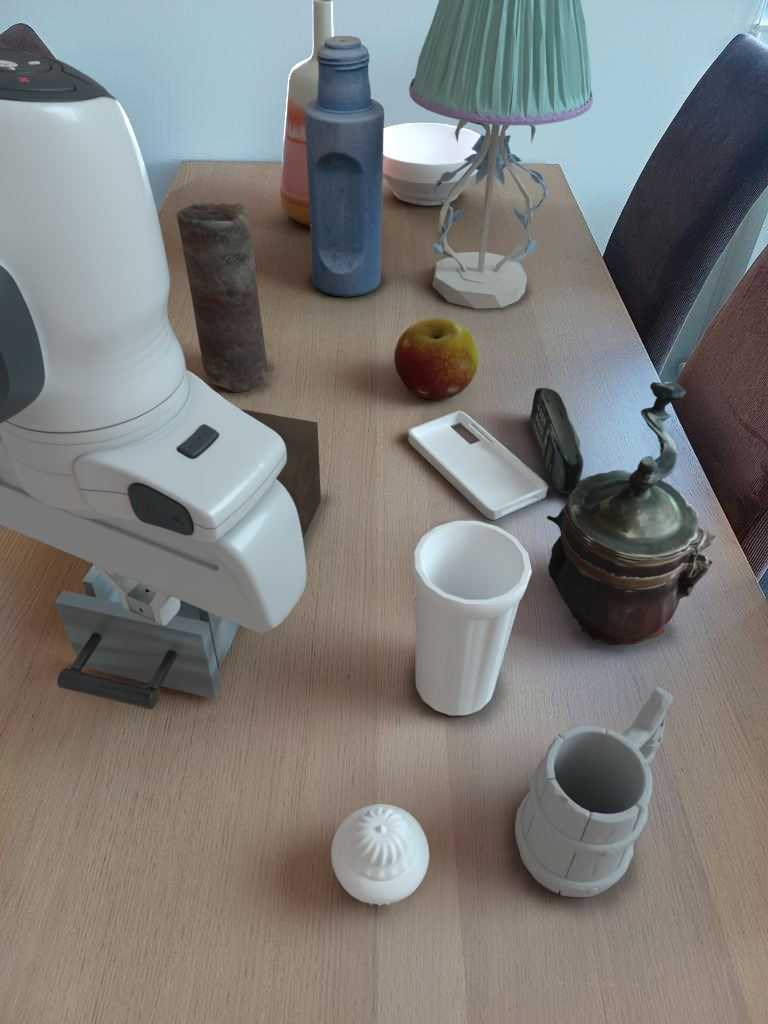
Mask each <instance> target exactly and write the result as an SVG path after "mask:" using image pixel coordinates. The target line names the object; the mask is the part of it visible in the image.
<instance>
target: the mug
mask: <svg viewBox="0 0 768 1024" xmlns="http://www.w3.org/2000/svg"><path fill="white" fill-rule="evenodd" d="M672 702H673V695H672V694H671V693H669V692H668V691H666V690H665V689H663V688H662V687H661V686H656V687H654V689H653V691H652V693H651V694H650V697H649V699H648V700H647V701H646V703H644V705H642V707H641V708H640V710H639V712H638V713H637V716H636V718H635V719H634V721H633V722H632V724H631V726H629V727H628V728H627V729H626V730H625V731H624V732H622V733H619V732H617V731H615V730H613V729H609V728H606V727H604V726H599V725H576V726H573V727H569V728H566V729H565V730H562V732H560V733H559V734H558V735H556V737H554V739H553V740H552V742H550V745H549V746H548V749H547V751H546V753H545V755H544V756H543V757H542V758H541V759H540V761H539V762H538V764H537V765H536V767H535V768H534V771H533V772H532V773H531V775H530V777H529V780H528V781H529V784H528V785H529V791H528V792H527V794H526V795H525V796H524V798H523V799H522V801H521V803H520V805H519V807H518V808H517V809H516V813H515V817H516V818H515V823H514V824H515V825H514V831H515V832H514V833H515V839H516V844H517V849H518V850H519V855H520V858H521V861H522V863H523V865H524V867H525V868H526V869H527V871H528V872H529V873H530V874H531V876H532V877H533V878H534V879H535V881H537V882H538V883H539V884H540V885H542V886H543V887H544V888H546V889H547V890H549V891H551V892H552V893H555V894H557V895H558V894H559V895H560V896H563V897H571V898H589V897H593V896H597V895H599V894H601V893H602V892H604V891H607V890H609V888H610V887H612V886H613V885H615V884H616V883H618V881H619V880H621V878H622V877H623V876H624V875H625V873H626V872H627V870H628V868H629V865H630V863H631V860H632V859H633V857H634V852H635V851H634V843H635V841H636V840H637V839H638V838H639V836H640V834H641V833H642V831H643V829H644V827H645V825H646V823H647V821H648V818H649V807H648V805H649V803H650V800H651V797H652V792H653V774H652V770H651V768H650V765H651V763H652V762H653V760H654V758H655V755H656V751H657V750H658V749H659V748H660V746H661V744H662V742H663V740H664V732H665V730H666V721H667V711H668V709H669V707H670V705H671V703H672Z"/></svg>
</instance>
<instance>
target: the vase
mask: <svg viewBox="0 0 768 1024" xmlns="http://www.w3.org/2000/svg"><path fill="white" fill-rule="evenodd" d="M333 12H334V11H333V0H312V53H311V55H310V57H308V58H306V59H304V60H303V61H300V62H298V63H296V65H294V66H293V67H292V68H291V71H290V73H289V76H288V81H287V93H286V103H285V104H286V105H285V106H286V107H285V117H284V118H285V119H284V129H283V130H284V131H283V145H282V154H281V158H282V159H281V169H280V170H281V171H280V181H279V182H280V183H279V184H280V185H279V187H280V188H279V192H280V193H279V194H280V203H281V206H282V208H283V211H284V212H285V213H286V215H288V216H289V217H290V218H291V219H292V220H294V221H295V222H297V223H300V224H303V225H305V226H307V227H310V211H309V189H308V170H307V152H306V128H305V107H306V105H307V104H308V103H309V102H310V101H312V100H314V99H317V90H318V61H317V52H318V48H319V47H321V46H322V45H324V41H325V39H328V38H330V37H333V36H334V15H333V14H334V13H333Z"/></svg>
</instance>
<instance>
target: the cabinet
mask: <svg viewBox="0 0 768 1024" xmlns="http://www.w3.org/2000/svg"><path fill="white" fill-rule="evenodd" d="M239 409H240V410H242V411H243V412H245V413H246V414H248V415H249V416H251V417H253V418H254V419H256V420H257V421H259V422H261V423H262V424H264V425H266V426H267V427H269V428H270V429H272V430H273V431H275V432H276V433H277V434H278V435H279V436H280V437H281V438H282V439H283V441H284V443H285V446H286V453H287V460H286V464H285V466H284V467H283V469H282V470H281V472H280V473H279V475H278V476H277V478H276V479H277V480H278V481H279V482H280V483H281V484H282V485H283V486H284V487H285V488H286V490H287V491H288V493H289V494H290V496H291V497H292V500H293V502H294V504H295V507H296V509H297V513H298V517H299V521H300V526H301V531H302V537H303V539H304V538H305V536H306V534H307V532H308V529H309V527H310V525H311V523H312V520H313V519H314V516H315V514H316V512H317V510H318V508H319V506H320V503H321V501H322V491H321V489H322V488H321V470H320V469H321V467H320V447H319V446H320V444H319V425H318V423H319V422H317V421H312V420H311V421H310V420H307V419H301V418H295V417H288V416H284V415H279V414H272V413H266V412H261V411H260V412H259V411H255V410H249V409H243V408H239Z"/></svg>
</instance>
